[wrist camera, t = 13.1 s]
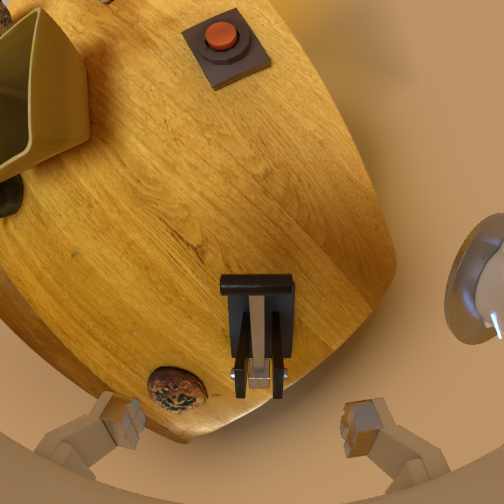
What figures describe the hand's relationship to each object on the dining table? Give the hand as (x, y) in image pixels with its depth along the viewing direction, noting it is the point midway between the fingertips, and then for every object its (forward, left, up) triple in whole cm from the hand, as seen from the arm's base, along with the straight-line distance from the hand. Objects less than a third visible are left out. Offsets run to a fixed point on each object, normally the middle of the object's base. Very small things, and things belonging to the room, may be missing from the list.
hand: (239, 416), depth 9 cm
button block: (+4, -26, -29) cm, 39 cm away
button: (+4, -26, -25) cm, 36 cm away
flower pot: (+31, -21, -29) cm, 47 cm away
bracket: (0, +12, -29) cm, 31 cm away
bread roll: (+15, +27, -29) cm, 42 cm away
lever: (0, +5, -15) cm, 16 cm away
